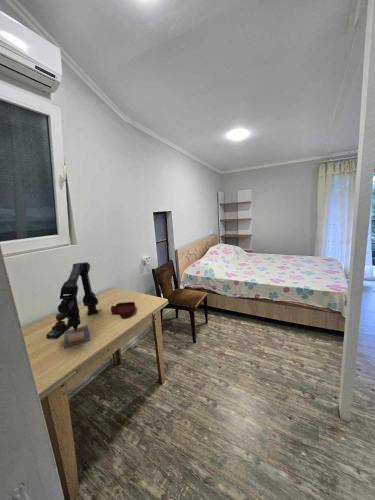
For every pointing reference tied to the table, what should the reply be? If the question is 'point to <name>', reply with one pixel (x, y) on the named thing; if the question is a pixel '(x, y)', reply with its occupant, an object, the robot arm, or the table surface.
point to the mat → (86, 338)
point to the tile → (76, 336)
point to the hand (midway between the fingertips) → (75, 330)
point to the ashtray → (124, 308)
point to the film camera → (58, 330)
